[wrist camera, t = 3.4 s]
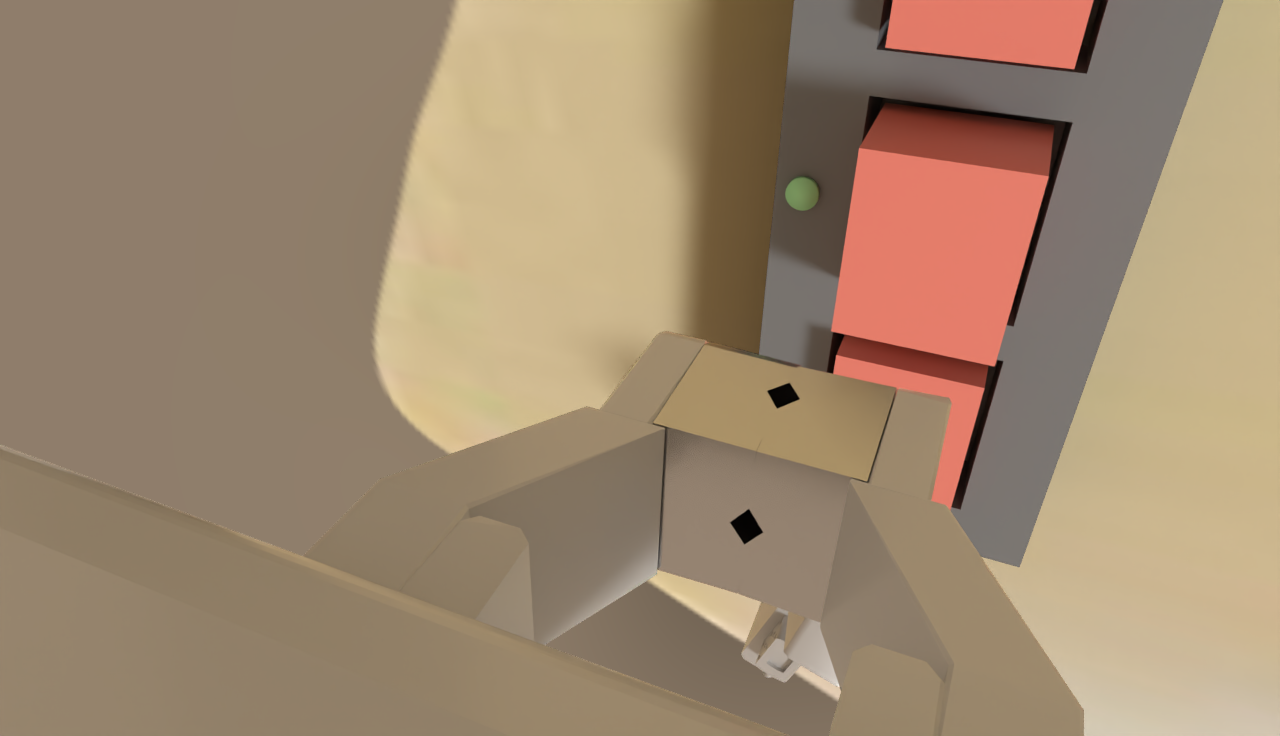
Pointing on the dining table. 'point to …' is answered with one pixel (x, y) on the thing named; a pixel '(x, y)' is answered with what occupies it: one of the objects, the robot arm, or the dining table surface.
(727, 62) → the dining table surface
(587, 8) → the dining table surface
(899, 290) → the button
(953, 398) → the button
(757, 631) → the lighter
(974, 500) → the power strip
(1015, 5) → the button
